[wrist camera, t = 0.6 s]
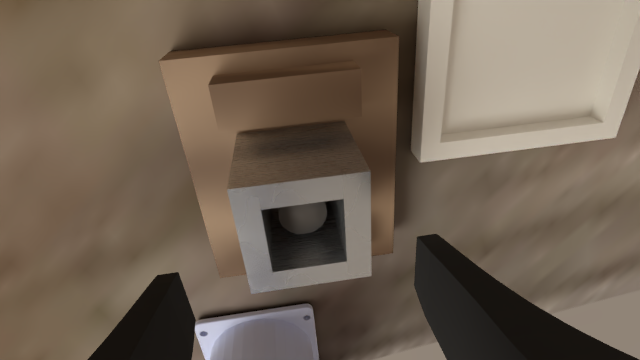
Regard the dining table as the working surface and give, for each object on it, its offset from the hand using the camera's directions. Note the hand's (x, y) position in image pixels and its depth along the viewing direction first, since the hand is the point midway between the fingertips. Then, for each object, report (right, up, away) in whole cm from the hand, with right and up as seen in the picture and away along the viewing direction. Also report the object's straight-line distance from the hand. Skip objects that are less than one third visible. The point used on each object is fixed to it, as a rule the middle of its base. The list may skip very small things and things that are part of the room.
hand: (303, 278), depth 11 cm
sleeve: (-1, +3, +7) cm, 8 cm away
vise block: (-1, +4, +9) cm, 10 cm away
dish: (+11, +10, +7) cm, 16 cm away
